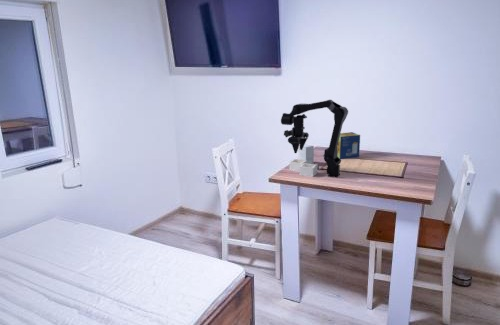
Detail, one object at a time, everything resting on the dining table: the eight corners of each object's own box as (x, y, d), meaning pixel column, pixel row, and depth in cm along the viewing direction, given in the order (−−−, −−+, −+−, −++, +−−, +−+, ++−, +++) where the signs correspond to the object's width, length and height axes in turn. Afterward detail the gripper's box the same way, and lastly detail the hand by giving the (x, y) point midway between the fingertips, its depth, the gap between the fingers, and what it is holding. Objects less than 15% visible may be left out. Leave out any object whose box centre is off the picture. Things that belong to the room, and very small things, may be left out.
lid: (312, 169, 230) (312, 161, 228) (325, 170, 225) (325, 163, 224) (306, 172, 223) (307, 164, 221) (320, 174, 218) (320, 166, 217)
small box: (313, 166, 234) (314, 145, 231) (305, 167, 231) (305, 147, 228) (305, 163, 241) (306, 143, 238) (297, 164, 238) (297, 144, 235)
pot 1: (306, 169, 227) (306, 160, 225) (302, 173, 220) (302, 163, 218) (294, 168, 230) (294, 158, 229) (289, 171, 224) (289, 162, 222)
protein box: (331, 155, 258) (332, 133, 254) (351, 153, 262) (352, 132, 258) (339, 159, 248) (340, 136, 244) (359, 157, 253) (360, 134, 249)
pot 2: (317, 174, 217) (317, 164, 215) (312, 178, 210) (312, 168, 208) (304, 172, 220) (304, 163, 219) (299, 176, 213) (299, 166, 212)
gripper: (291, 122, 230) (291, 147, 234) (279, 127, 214) (279, 153, 218) (309, 123, 224) (308, 148, 228) (297, 128, 209) (297, 155, 213)
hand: (298, 151), depth 222 cm, fingers open, 9 cm apart
